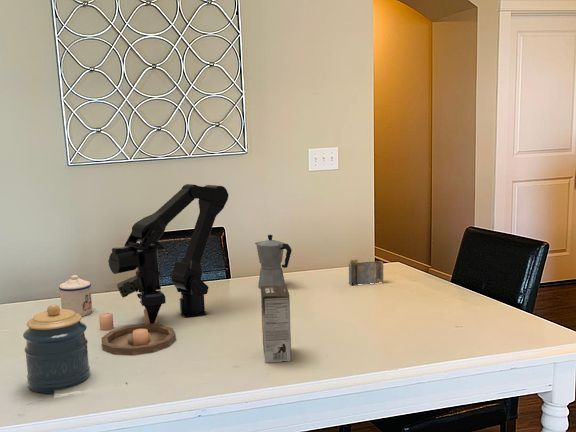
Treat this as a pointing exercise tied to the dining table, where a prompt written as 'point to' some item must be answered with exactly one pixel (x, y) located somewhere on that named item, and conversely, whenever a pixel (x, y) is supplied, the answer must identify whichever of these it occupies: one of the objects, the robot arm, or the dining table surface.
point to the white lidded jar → (76, 295)
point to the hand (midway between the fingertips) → (151, 321)
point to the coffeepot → (272, 262)
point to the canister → (56, 350)
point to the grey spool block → (365, 272)
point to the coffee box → (276, 323)
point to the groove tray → (123, 340)
